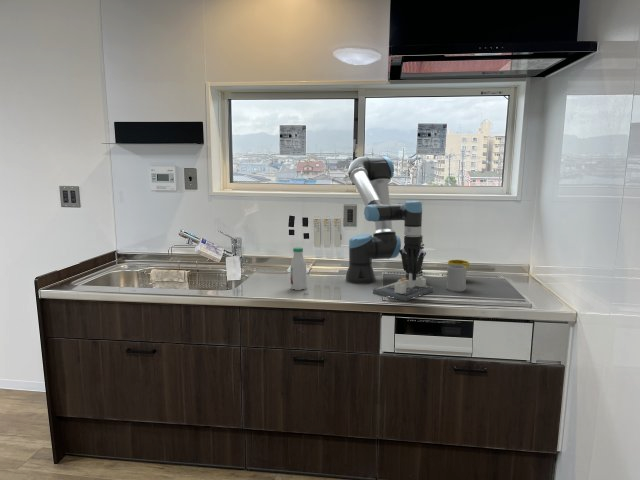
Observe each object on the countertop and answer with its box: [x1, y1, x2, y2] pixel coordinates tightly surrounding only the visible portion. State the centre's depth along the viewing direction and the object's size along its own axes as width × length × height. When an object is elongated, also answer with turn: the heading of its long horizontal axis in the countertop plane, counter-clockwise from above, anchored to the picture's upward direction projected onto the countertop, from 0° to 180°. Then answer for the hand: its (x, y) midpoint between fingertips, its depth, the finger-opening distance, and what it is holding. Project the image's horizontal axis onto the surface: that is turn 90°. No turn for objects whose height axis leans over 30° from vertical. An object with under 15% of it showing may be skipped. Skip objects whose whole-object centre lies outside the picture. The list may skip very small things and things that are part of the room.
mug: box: [446, 265, 467, 292], centre depth 211 cm, size 12×8×11 cm
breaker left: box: [395, 282, 406, 294], centre depth 197 cm, size 4×3×4 cm
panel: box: [372, 281, 434, 302], centre depth 206 cm, size 18×22×2 cm
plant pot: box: [447, 259, 470, 274], centre depth 227 cm, size 10×10×10 cm
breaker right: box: [415, 275, 427, 287], centre depth 208 cm, size 4×3×4 cm
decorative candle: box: [405, 234, 425, 280], centre depth 224 cm, size 9×9×25 cm
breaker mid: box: [397, 277, 409, 288], centre depth 205 cm, size 4×3×4 cm
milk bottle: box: [290, 246, 308, 291], centre depth 214 cm, size 8×8×20 cm
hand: (411, 286), depth 202 cm, fingers closed
